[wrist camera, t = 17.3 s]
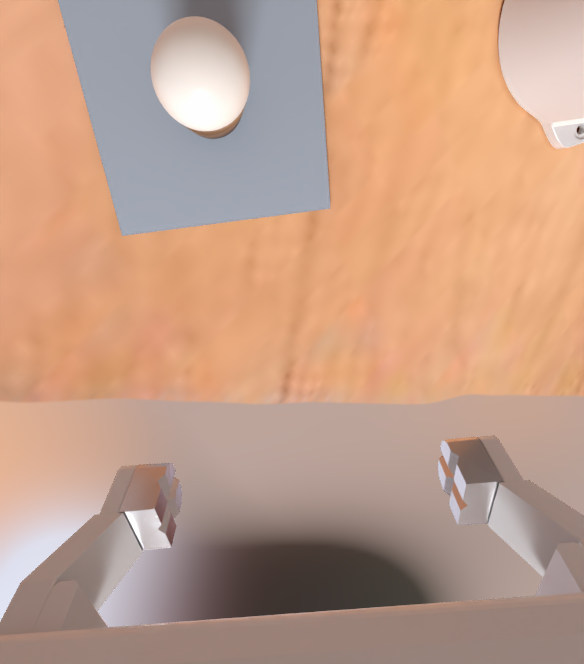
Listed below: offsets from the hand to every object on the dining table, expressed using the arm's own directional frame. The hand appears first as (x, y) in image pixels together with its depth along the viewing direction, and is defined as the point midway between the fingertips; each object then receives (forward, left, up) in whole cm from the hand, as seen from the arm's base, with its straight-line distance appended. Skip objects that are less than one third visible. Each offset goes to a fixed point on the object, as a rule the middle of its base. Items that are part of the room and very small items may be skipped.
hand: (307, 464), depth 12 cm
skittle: (+2, -13, -27) cm, 30 cm away
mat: (+2, -15, -27) cm, 31 cm away
